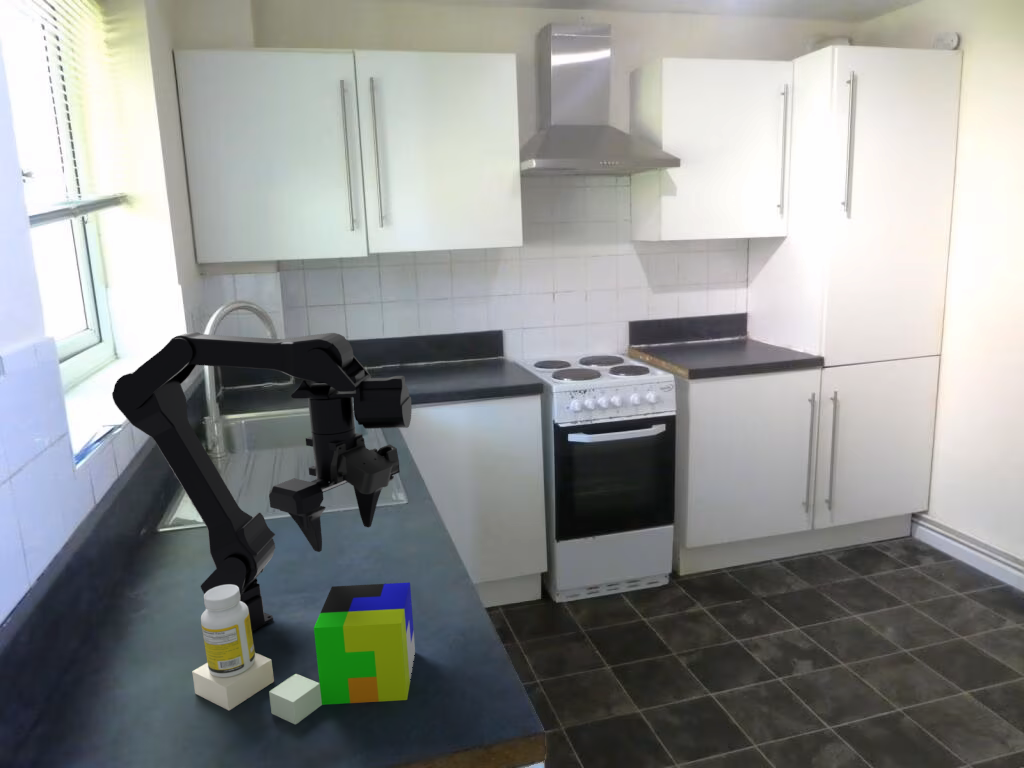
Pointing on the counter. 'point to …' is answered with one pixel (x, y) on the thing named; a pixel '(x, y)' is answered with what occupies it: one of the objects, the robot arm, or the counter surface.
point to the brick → (295, 698)
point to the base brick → (233, 683)
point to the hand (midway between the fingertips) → (343, 538)
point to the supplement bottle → (227, 632)
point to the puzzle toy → (365, 643)
